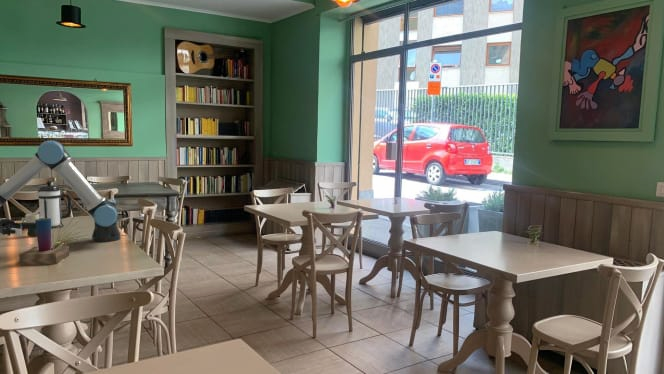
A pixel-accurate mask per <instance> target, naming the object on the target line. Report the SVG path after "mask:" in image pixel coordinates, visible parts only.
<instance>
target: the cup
mask: <svg viewBox="0 0 664 374" xmlns="http://www.w3.org/2000/svg"><path fill="white" fill-rule="evenodd" d="M35 224H36V232H37V236H36V237H37V238H36V239H37V240H36V241H37V245H38V246H37V247H39V251H48V250H51V246H52V226H51V218H40V219H35Z"/></svg>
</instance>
